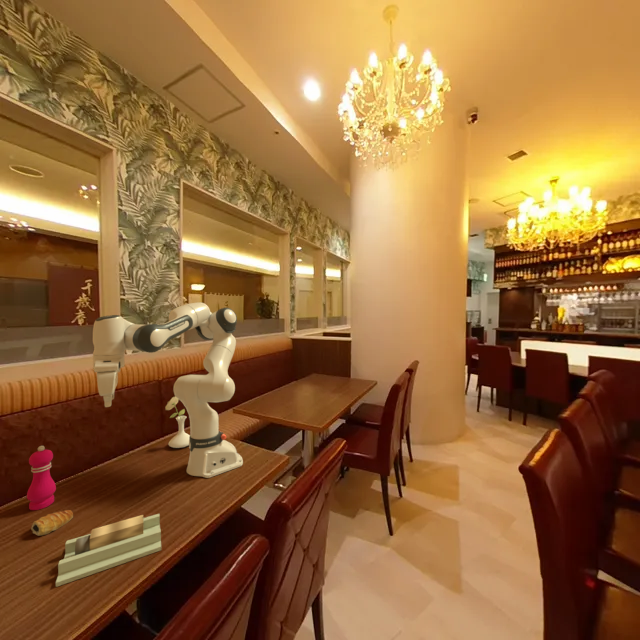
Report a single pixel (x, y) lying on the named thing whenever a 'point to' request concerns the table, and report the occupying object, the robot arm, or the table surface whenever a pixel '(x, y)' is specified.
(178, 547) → the table surface
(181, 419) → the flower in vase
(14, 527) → the table surface
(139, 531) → the grey-capped wooden block
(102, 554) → the grooved moulding strip
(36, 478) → the pepper mill
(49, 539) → the table surface
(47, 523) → the pastry
